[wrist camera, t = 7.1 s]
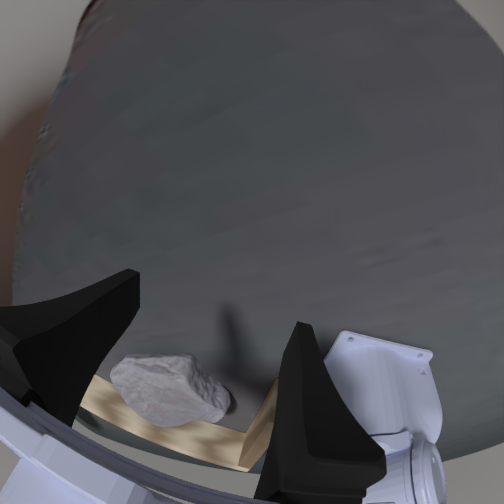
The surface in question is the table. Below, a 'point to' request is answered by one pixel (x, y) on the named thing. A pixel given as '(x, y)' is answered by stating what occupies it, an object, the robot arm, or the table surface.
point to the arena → (189, 429)
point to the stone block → (169, 389)
